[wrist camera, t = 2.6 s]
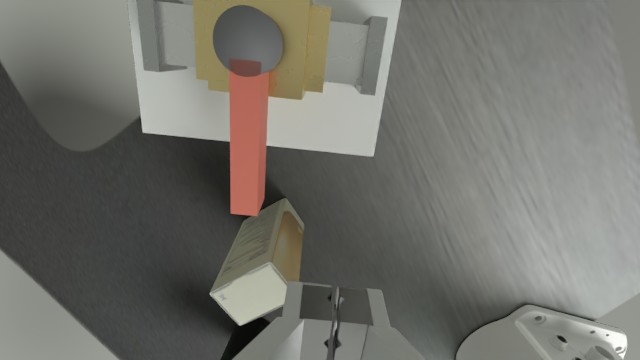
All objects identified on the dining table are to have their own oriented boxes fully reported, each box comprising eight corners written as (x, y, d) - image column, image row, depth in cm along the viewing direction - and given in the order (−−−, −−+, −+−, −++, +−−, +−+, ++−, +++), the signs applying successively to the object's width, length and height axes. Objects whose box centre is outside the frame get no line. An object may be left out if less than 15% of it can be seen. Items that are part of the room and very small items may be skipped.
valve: (377, 15, 27) (395, 2, 20) (364, 95, 30) (377, 108, 23) (171, -8, 27) (116, -31, 20) (177, 75, 30) (130, 81, 23)
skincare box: (263, 246, 37) (236, 329, 26) (242, 219, 36) (204, 295, 25) (307, 223, 36) (299, 300, 25) (287, 195, 35) (269, 262, 23)
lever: (286, 15, 21) (280, 9, 18) (276, 200, 26) (270, 217, 23) (226, 8, 21) (211, 1, 18) (229, 195, 26) (217, 212, 23)
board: (400, -7, 27) (402, -9, 26) (372, 154, 33) (373, 156, 32) (127, -39, 26) (121, -42, 26) (146, 130, 32) (142, 132, 31)
